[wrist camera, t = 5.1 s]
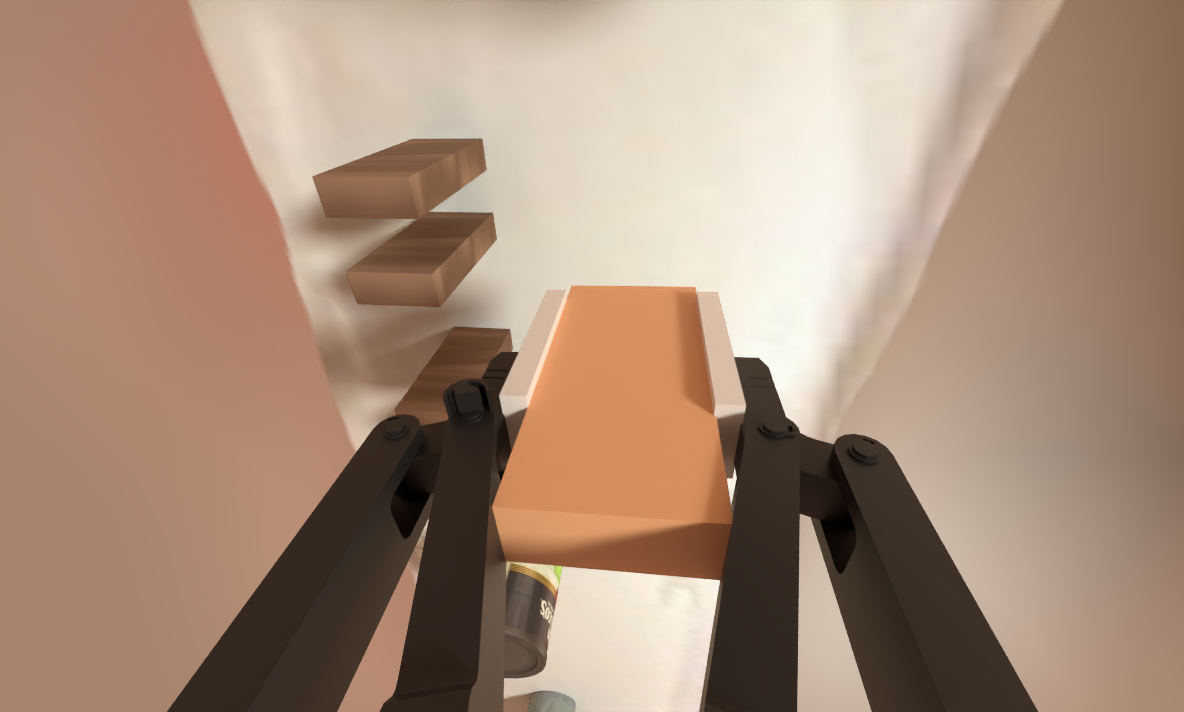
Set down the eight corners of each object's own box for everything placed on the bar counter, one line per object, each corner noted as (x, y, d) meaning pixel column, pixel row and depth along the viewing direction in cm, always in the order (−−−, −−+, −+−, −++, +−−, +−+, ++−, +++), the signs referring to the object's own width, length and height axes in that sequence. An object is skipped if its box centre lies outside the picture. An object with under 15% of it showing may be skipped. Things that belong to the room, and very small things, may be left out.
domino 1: (412, 139, 31) (312, 176, 22) (481, 138, 31) (408, 177, 22) (418, 169, 32) (326, 217, 23) (486, 169, 32) (418, 218, 23)
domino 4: (571, 285, 19) (491, 506, 10) (695, 286, 18) (734, 524, 9) (574, 327, 20) (506, 561, 11) (691, 330, 19) (722, 580, 10)
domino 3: (454, 326, 40) (394, 409, 31) (509, 329, 39) (465, 413, 30) (458, 346, 41) (402, 430, 32) (512, 348, 40) (470, 435, 31)
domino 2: (428, 212, 34) (345, 271, 25) (492, 212, 33) (432, 274, 24) (434, 238, 35) (357, 304, 26) (496, 239, 35) (440, 306, 26)
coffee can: (572, 508, 52) (548, 640, 40) (566, 558, 58) (543, 686, 46) (484, 493, 52) (435, 620, 41) (487, 545, 58) (445, 668, 47)
